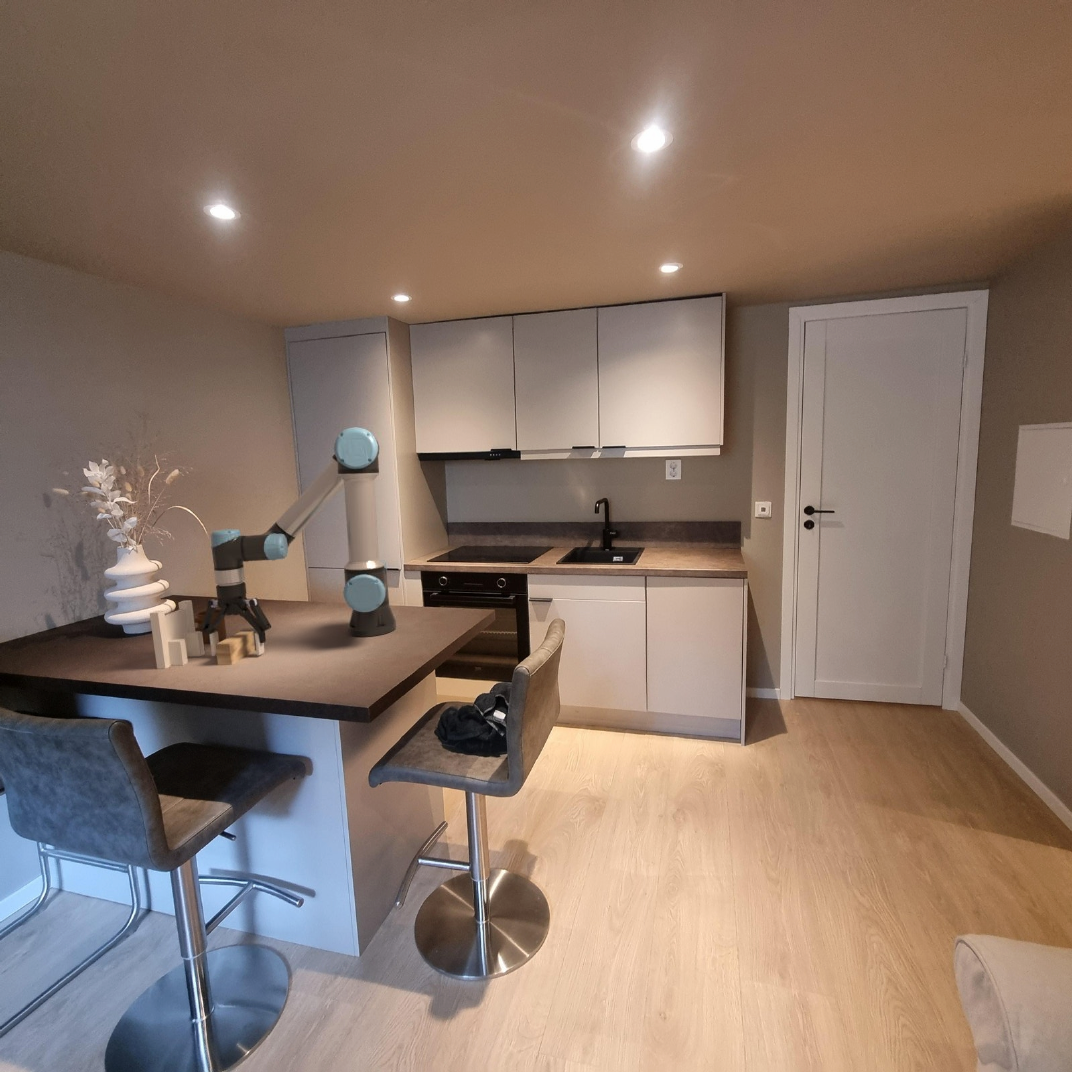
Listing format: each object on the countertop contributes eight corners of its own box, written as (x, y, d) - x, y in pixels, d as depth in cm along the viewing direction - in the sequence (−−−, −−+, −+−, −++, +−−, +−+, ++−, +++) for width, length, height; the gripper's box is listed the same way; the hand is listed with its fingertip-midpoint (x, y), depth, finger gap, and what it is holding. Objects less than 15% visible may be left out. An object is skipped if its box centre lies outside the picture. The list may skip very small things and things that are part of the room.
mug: (198, 649, 174) (195, 619, 173) (181, 647, 177) (177, 618, 175) (232, 637, 185) (228, 609, 184) (215, 636, 188) (211, 608, 186)
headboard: (209, 651, 171) (203, 600, 169) (177, 668, 158) (170, 612, 155) (190, 651, 172) (183, 600, 170) (157, 668, 158) (149, 613, 156)
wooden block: (231, 664, 159) (229, 642, 158) (218, 665, 159) (215, 643, 158) (258, 648, 172) (256, 627, 172) (246, 648, 173) (243, 628, 172)
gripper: (279, 579, 166) (285, 649, 168) (197, 581, 167) (205, 650, 170) (265, 584, 158) (272, 657, 161) (180, 586, 160) (189, 659, 163)
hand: (238, 654), depth 166 cm, fingers open, 13 cm apart
